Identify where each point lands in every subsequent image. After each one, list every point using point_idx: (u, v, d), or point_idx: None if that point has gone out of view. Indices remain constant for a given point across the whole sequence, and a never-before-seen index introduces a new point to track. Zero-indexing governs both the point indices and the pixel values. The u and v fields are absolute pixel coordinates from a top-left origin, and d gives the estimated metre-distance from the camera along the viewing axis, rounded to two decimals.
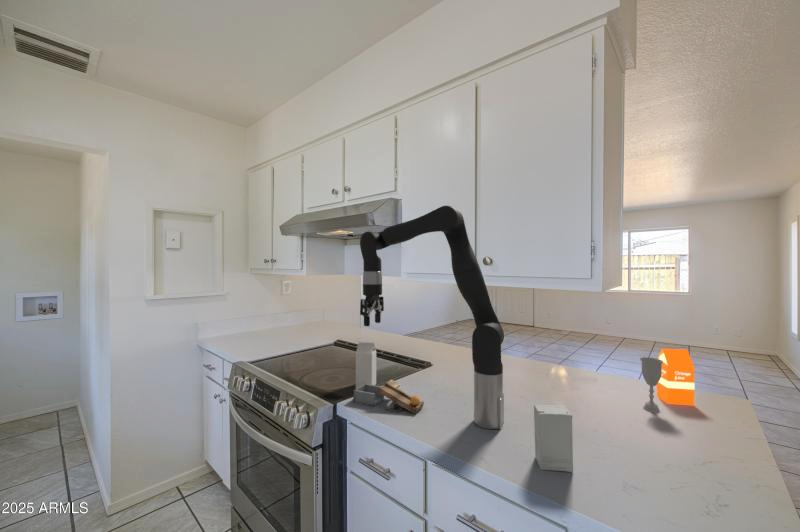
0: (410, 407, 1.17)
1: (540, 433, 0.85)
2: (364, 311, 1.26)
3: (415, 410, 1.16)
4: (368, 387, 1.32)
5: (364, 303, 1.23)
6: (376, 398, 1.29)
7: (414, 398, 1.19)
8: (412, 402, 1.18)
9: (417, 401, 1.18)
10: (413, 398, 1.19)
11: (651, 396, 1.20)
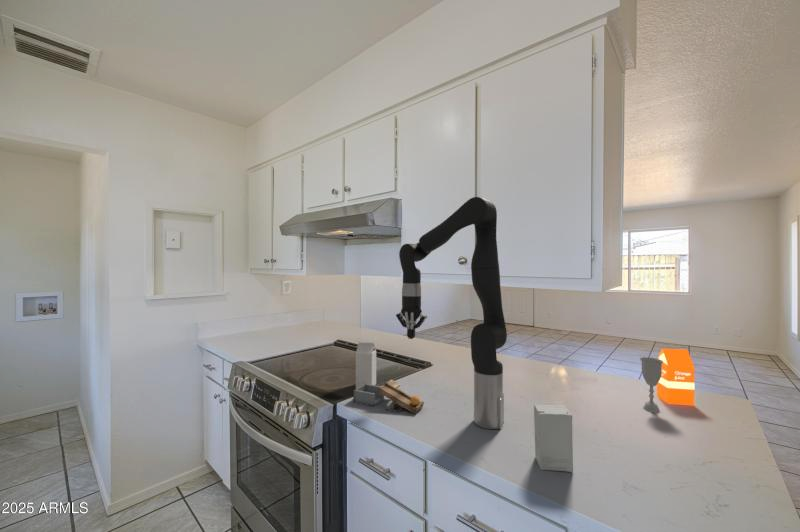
0: (410, 407, 1.17)
1: (540, 433, 0.85)
2: (413, 325, 1.29)
3: (415, 410, 1.16)
4: (368, 387, 1.32)
5: (424, 320, 1.29)
6: (376, 398, 1.29)
7: (414, 398, 1.19)
8: (412, 402, 1.18)
9: (417, 401, 1.18)
10: (413, 398, 1.19)
11: (651, 396, 1.20)
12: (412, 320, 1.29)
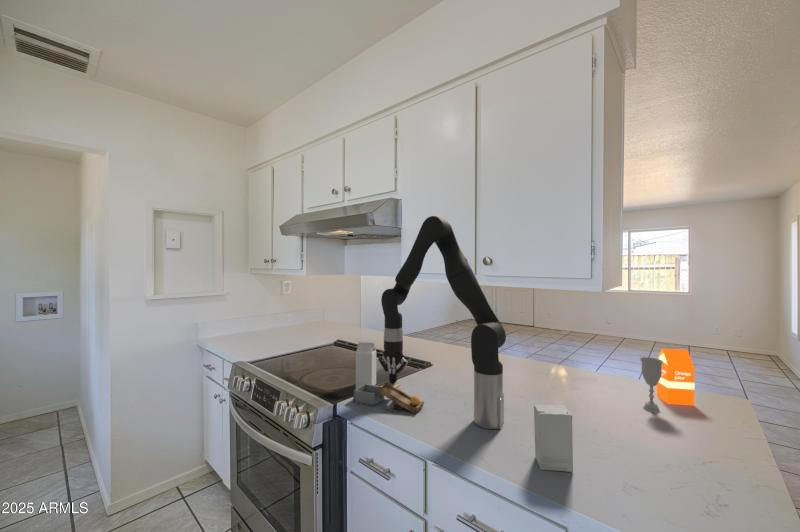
0: (410, 407, 1.17)
1: (540, 433, 0.85)
2: (395, 370, 1.30)
3: (415, 410, 1.16)
4: (368, 387, 1.32)
5: (406, 364, 1.29)
6: (376, 398, 1.29)
7: (414, 398, 1.19)
8: (412, 402, 1.18)
9: (417, 401, 1.18)
10: (413, 398, 1.19)
11: (651, 396, 1.20)
12: (394, 364, 1.29)
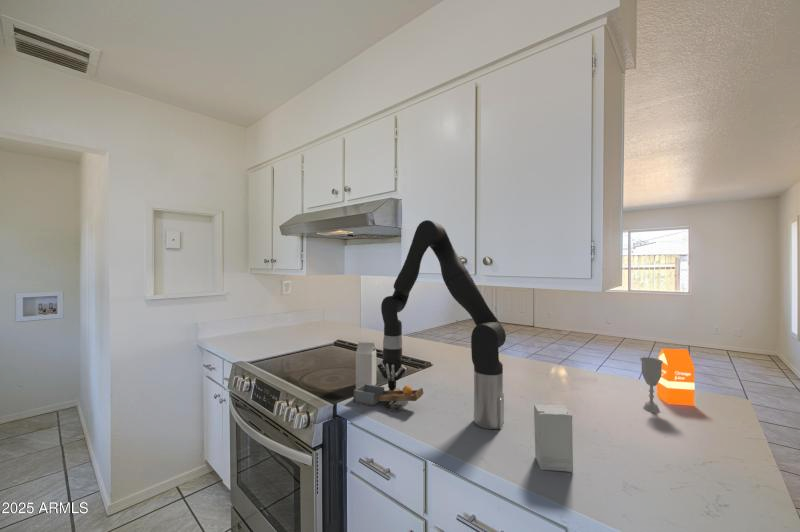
0: (410, 397, 1.17)
1: (540, 433, 0.85)
2: (394, 377, 1.30)
3: (415, 397, 1.16)
4: (368, 387, 1.32)
5: None
6: (376, 398, 1.29)
7: None
8: (405, 392, 1.20)
9: (404, 387, 1.21)
10: (403, 392, 1.21)
11: (651, 396, 1.20)
12: (393, 372, 1.29)
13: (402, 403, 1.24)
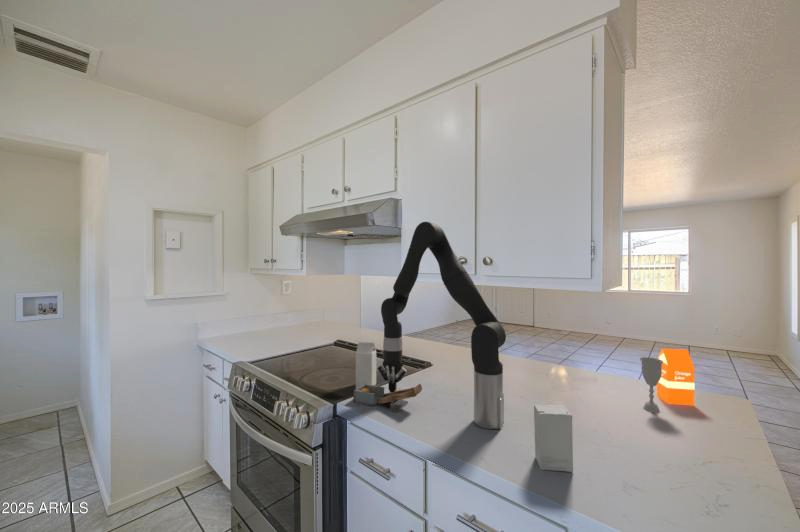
0: (408, 393, 1.17)
1: (540, 433, 0.85)
2: (394, 379, 1.30)
3: (413, 392, 1.17)
4: (368, 387, 1.32)
5: (405, 374, 1.29)
6: (376, 398, 1.29)
7: (362, 390, 1.28)
8: None
9: None
10: None
11: (651, 396, 1.20)
12: (393, 374, 1.29)
13: (402, 403, 1.24)
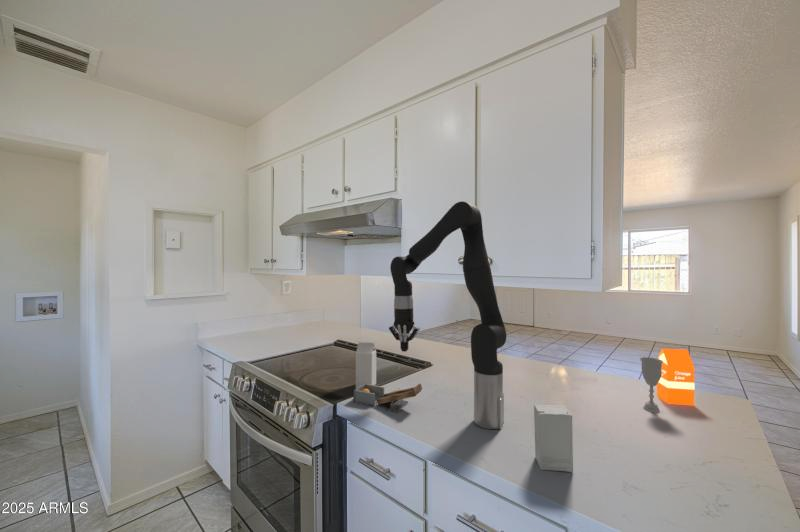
0: (408, 393, 1.18)
1: (540, 433, 0.85)
2: (406, 338, 1.29)
3: (413, 392, 1.17)
4: (368, 387, 1.32)
5: (417, 332, 1.29)
6: (376, 398, 1.29)
7: (363, 390, 1.28)
8: None
9: None
10: None
11: (651, 396, 1.20)
12: (405, 332, 1.29)
13: (402, 403, 1.24)
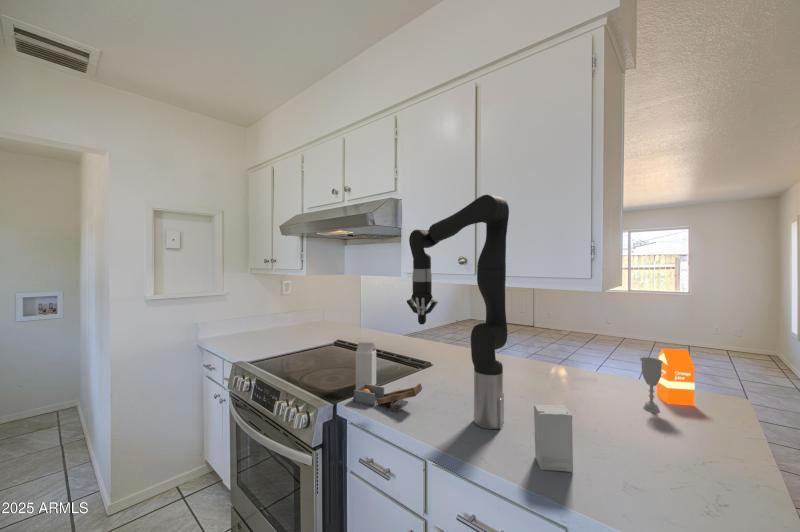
0: (408, 393, 1.18)
1: (540, 433, 0.85)
2: (424, 311, 1.30)
3: (413, 392, 1.17)
4: (368, 387, 1.32)
5: (435, 305, 1.30)
6: (376, 398, 1.29)
7: None
8: None
9: None
10: None
11: (651, 396, 1.20)
12: (423, 305, 1.29)
13: (402, 403, 1.24)
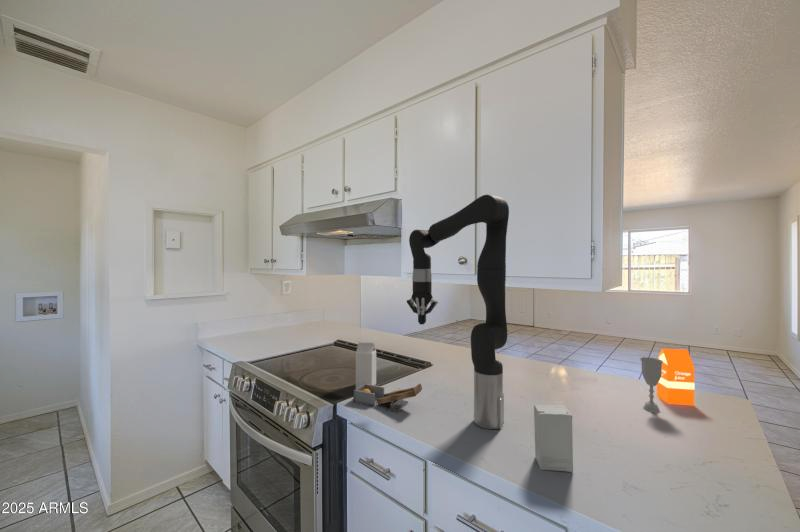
0: (408, 393, 1.18)
1: (540, 433, 0.85)
2: (424, 311, 1.30)
3: (413, 392, 1.17)
4: (368, 387, 1.32)
5: (435, 305, 1.30)
6: (376, 398, 1.29)
7: None
8: None
9: None
10: None
11: (651, 396, 1.20)
12: (423, 305, 1.29)
13: (402, 403, 1.24)
